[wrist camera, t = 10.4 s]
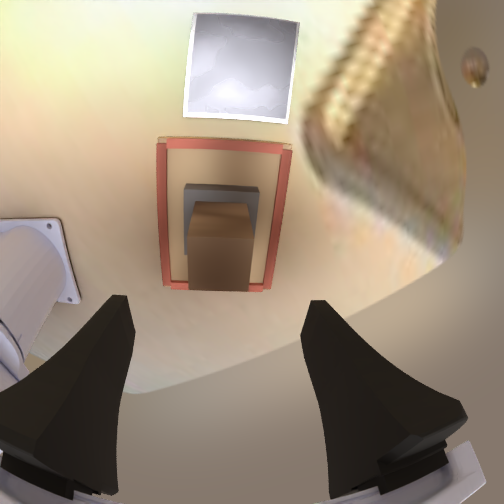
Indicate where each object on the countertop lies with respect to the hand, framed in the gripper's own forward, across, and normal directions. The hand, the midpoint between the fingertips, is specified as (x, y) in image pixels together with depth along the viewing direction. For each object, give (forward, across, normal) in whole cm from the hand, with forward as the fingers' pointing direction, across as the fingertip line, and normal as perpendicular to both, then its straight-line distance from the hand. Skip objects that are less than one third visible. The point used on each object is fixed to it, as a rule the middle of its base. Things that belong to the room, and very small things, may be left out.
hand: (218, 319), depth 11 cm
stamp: (+9, 0, 0) cm, 9 cm away
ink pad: (+9, -1, -10) cm, 14 cm away
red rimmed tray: (+9, 0, 0) cm, 9 cm away
